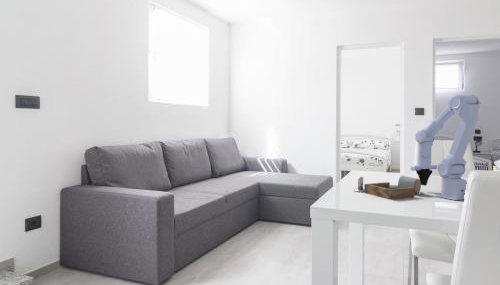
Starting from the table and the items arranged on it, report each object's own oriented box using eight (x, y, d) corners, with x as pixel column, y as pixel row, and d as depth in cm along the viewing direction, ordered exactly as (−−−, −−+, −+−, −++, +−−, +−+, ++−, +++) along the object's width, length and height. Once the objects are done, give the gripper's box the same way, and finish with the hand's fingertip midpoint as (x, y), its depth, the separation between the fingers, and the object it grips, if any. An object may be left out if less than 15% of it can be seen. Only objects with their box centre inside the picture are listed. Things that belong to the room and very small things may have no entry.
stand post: (369, 191, 170) (370, 177, 170) (359, 192, 168) (359, 178, 168) (361, 189, 176) (361, 175, 176) (351, 190, 174) (351, 176, 173)
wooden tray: (414, 196, 158) (414, 187, 158) (389, 199, 153) (390, 190, 153) (387, 190, 173) (387, 182, 173) (364, 192, 168) (364, 184, 168)
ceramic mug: (415, 195, 162) (415, 178, 161) (397, 192, 167) (397, 176, 167) (424, 192, 169) (424, 176, 169) (406, 190, 175) (406, 174, 174)
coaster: (408, 188, 178) (408, 187, 178) (394, 190, 174) (394, 188, 174) (395, 185, 186) (395, 184, 186) (381, 187, 182) (381, 185, 182)
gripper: (428, 155, 177) (428, 182, 177) (406, 156, 171) (405, 184, 172) (441, 156, 170) (440, 185, 171) (418, 157, 165) (417, 187, 165)
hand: (423, 185), depth 171 cm, fingers closed
